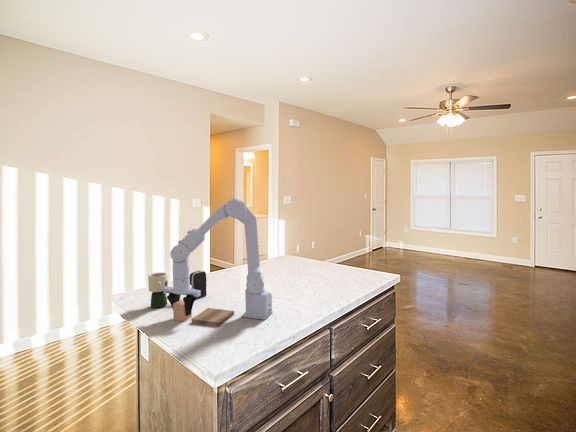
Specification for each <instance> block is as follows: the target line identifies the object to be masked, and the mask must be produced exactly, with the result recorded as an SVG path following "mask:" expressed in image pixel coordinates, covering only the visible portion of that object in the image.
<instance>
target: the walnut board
mask: <svg viewBox="0 0 576 432" xmlns="http://www.w3.org/2000/svg"><path fill="white" fill-rule="evenodd" d="M234 316H235V310H230V309H229V310H228V309H221V308H211V307H208V308H206V309H204V310H203V311H202V312H200V313H198V314H197V315H196V316H194V317H191V323H192V324H194V325H195V324H196V325H203V326H211V327H222V326H223V325H224V324H225V323H227V321H229V320H230V319H231V318H232V317H234Z"/></svg>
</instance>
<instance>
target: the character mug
mask: <svg viewBox="0 0 576 432" xmlns="http://www.w3.org/2000/svg"><path fill="white" fill-rule="evenodd" d="M147 281H148V291H149V292H151V297H150V307H152V308H156V307H157V308H160V307H165V306H167V305H168V299H167V293H166V294H164V291H163V288H166V287H169V284H168V283H169V282H168V272H154V273H150V274H148V280H147Z"/></svg>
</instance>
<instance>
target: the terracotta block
mask: <svg viewBox="0 0 576 432" xmlns="http://www.w3.org/2000/svg"><path fill="white" fill-rule="evenodd" d="M192 311H193V310H192ZM192 311H191V314H190V315H189V316H186V311H185V303H184V300H183V299H180V300H179V301H177V302H176V303H174V304H173V308H172V312H173V320H174V321H177V322H185V321H187V320H189V319H190V318H191V319H192V318H193V316H192V313H193V312H192Z"/></svg>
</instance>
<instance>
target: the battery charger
mask: <svg viewBox="0 0 576 432" xmlns="http://www.w3.org/2000/svg"><path fill="white" fill-rule="evenodd" d="M189 275H190V287H191V288H193V289H196V290H201V296H199V297H196V299H195V300H198V299H202V298H204V297H207V295H208V294H207V273H206V272H205V270H197V271H196V270H195V271H194V272H191V273H189Z"/></svg>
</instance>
